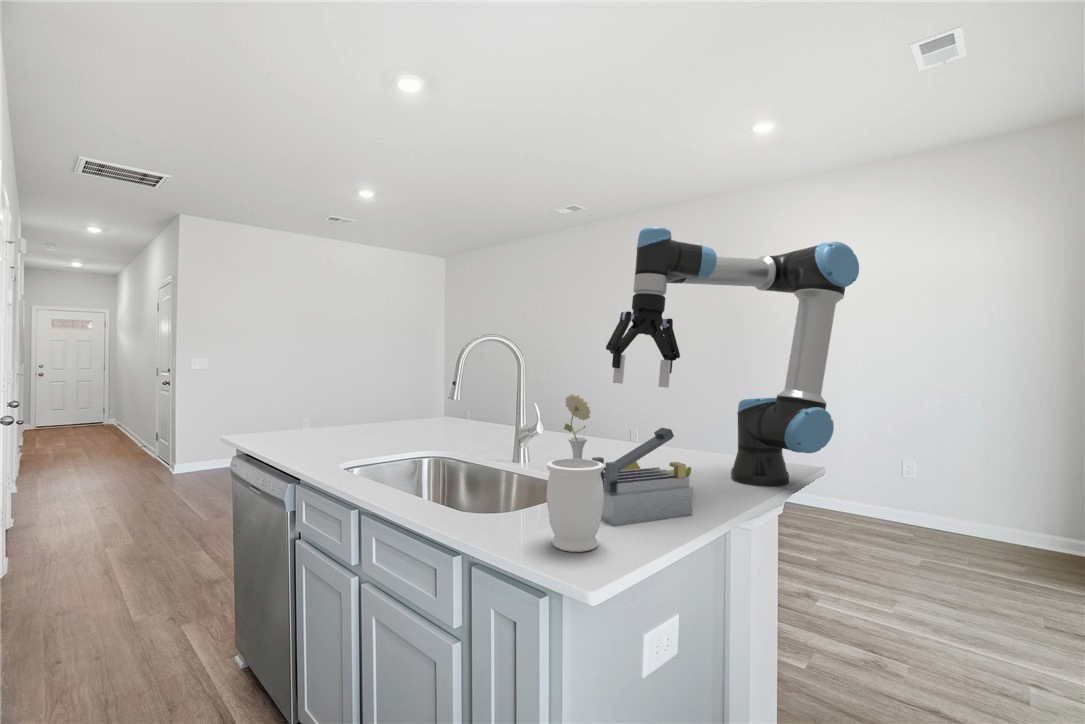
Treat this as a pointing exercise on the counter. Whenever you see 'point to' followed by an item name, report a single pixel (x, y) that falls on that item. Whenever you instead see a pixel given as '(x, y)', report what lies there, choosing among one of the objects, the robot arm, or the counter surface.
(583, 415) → the flower in vase
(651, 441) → the dark grey flat bar
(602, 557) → the counter surface
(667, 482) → the heatsink block
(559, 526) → the jar
